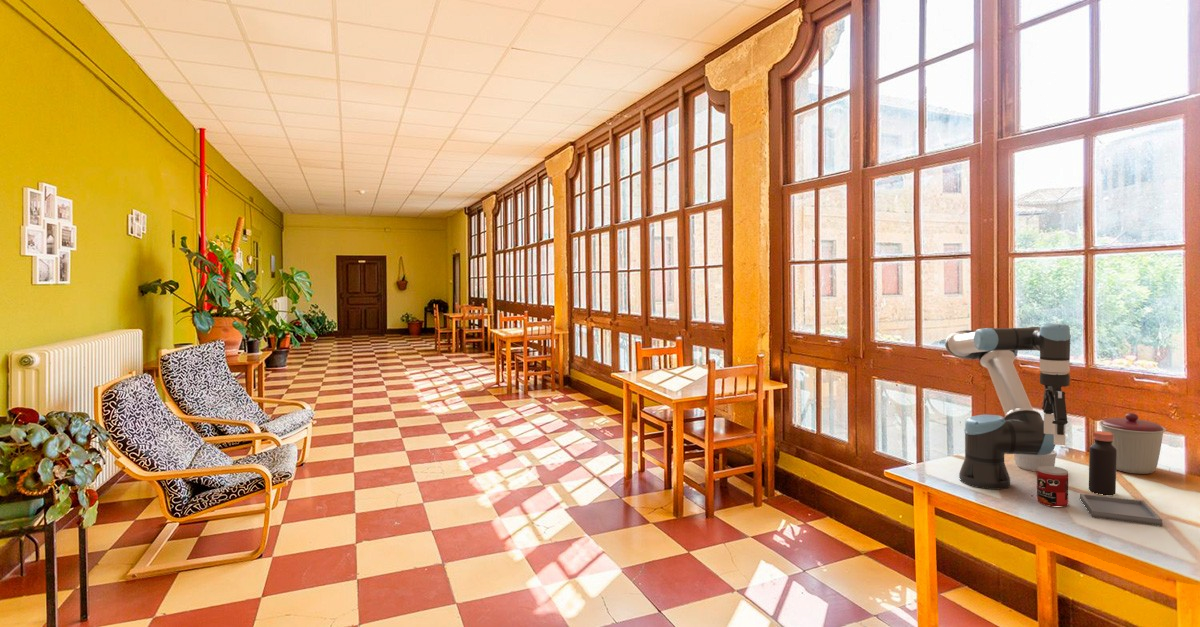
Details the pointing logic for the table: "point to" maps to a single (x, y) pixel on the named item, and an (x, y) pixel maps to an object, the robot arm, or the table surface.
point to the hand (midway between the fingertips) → (1054, 439)
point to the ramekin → (1035, 460)
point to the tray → (1120, 509)
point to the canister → (1135, 443)
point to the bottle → (1102, 464)
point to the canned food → (1052, 485)
